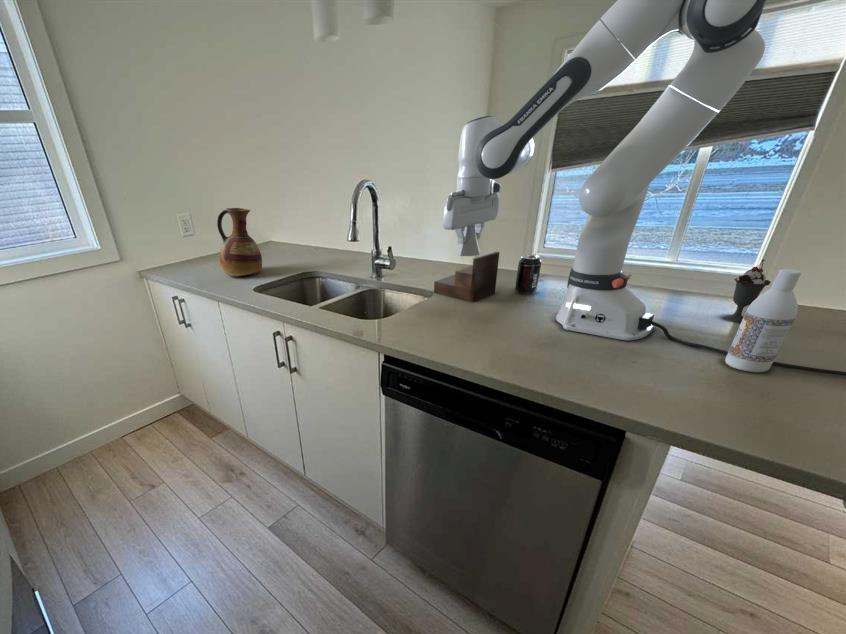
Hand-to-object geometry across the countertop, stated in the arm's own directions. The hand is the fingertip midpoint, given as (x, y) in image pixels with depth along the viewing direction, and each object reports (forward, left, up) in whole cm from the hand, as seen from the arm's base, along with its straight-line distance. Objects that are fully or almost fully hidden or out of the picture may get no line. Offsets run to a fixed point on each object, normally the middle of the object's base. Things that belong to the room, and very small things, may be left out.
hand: (468, 241), depth 116 cm
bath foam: (-64, -12, -22) cm, 69 cm away
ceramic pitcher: (+111, +25, -22) cm, 116 cm away
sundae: (-55, -41, -22) cm, 72 cm away
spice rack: (+12, -16, -21) cm, 29 cm away
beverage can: (-3, -29, -22) cm, 36 cm away
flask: (0, 0, -4) cm, 4 cm away
